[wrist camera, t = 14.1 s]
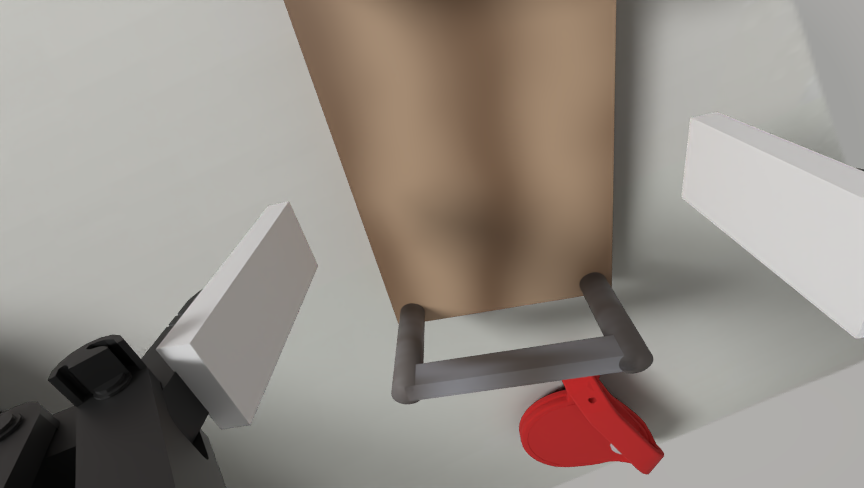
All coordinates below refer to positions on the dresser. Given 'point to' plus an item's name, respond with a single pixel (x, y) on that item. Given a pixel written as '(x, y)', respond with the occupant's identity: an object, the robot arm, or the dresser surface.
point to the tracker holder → (587, 429)
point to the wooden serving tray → (478, 170)
